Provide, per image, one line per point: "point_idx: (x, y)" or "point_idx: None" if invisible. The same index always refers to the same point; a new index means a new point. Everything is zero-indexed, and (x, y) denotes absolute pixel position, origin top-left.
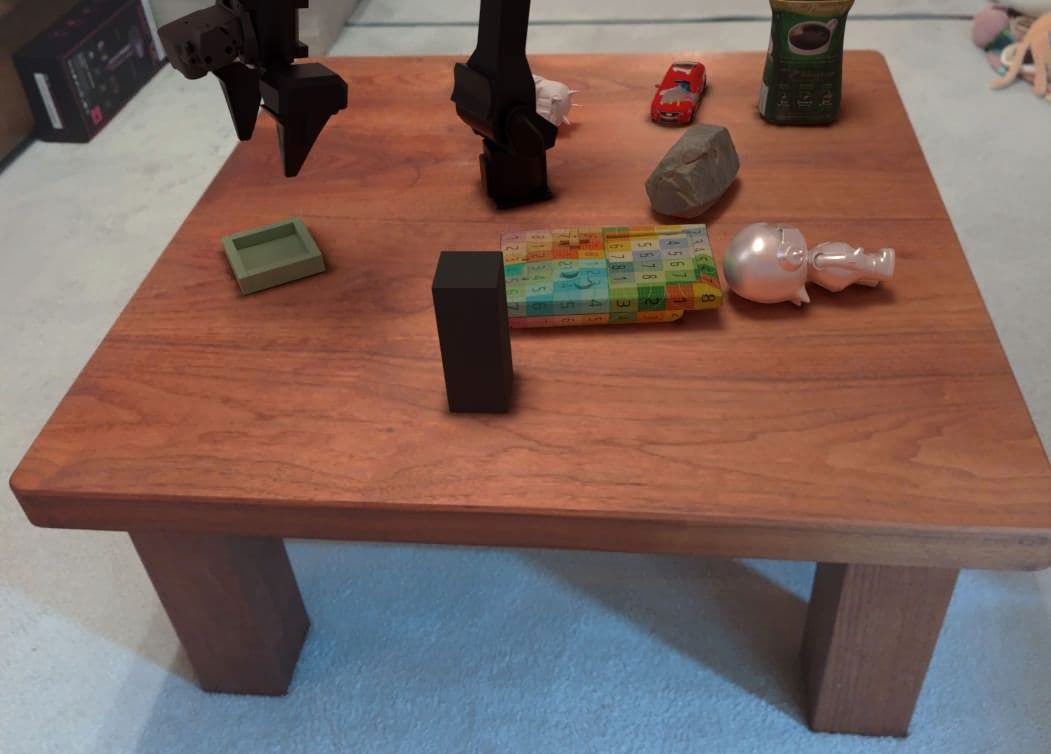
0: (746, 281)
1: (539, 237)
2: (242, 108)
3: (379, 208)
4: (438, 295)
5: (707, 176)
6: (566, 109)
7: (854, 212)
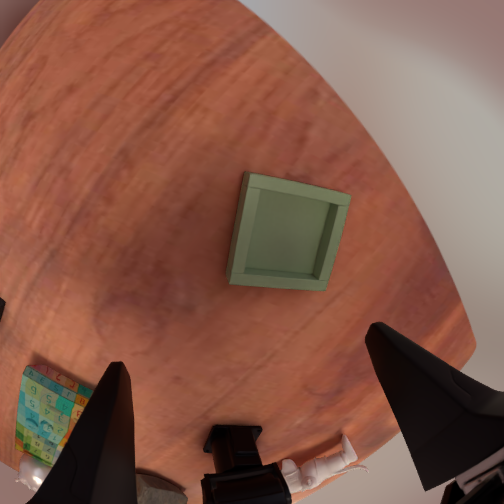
0: (22, 459)
1: None
2: (411, 388)
3: (294, 356)
4: None
5: None
6: None
7: None
